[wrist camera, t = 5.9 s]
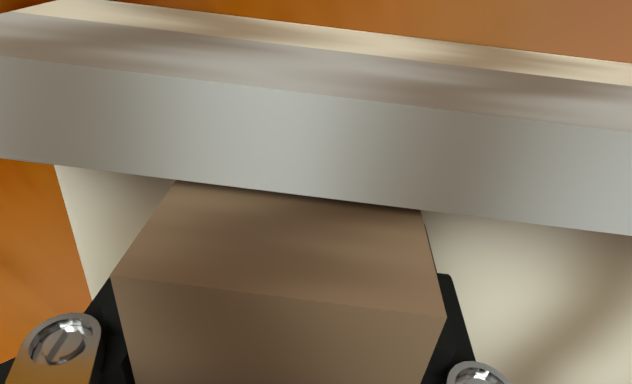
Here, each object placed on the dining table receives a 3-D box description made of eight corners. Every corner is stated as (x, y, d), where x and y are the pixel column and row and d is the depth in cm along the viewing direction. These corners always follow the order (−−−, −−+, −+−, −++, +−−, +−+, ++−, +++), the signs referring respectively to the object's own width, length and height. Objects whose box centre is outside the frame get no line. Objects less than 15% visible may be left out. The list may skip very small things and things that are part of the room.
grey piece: (794, 82, 11) (1103, 190, 7) (554, 406, 20) (615, 549, 15) (73, -4, 11) (-117, 41, 7) (145, 354, 20) (84, 481, 15)
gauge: (407, 157, 10) (447, 317, 6) (342, 417, 17) (339, 581, 12) (208, 133, 10) (109, 275, 6) (221, 402, 17) (177, 560, 13)
